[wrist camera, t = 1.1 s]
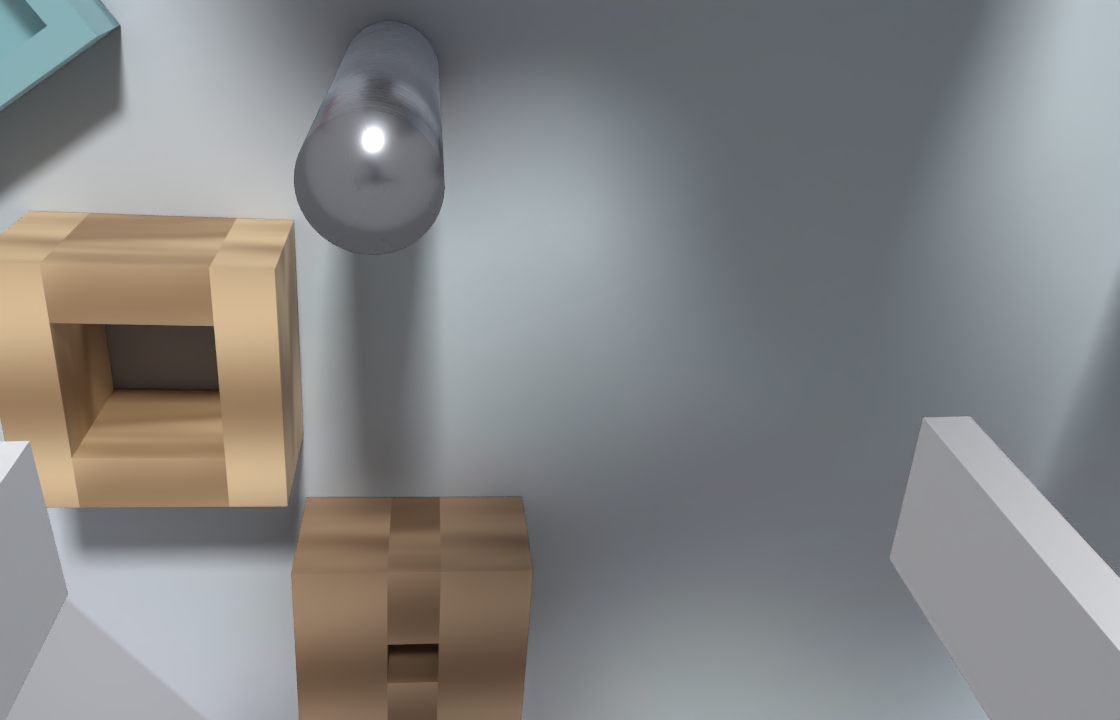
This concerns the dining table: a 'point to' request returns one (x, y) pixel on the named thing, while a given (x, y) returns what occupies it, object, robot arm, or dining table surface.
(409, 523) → the walnut block narrow bore
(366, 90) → the cylinder
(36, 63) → the teal tray
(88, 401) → the oak block wide bore
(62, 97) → the dining table surface
